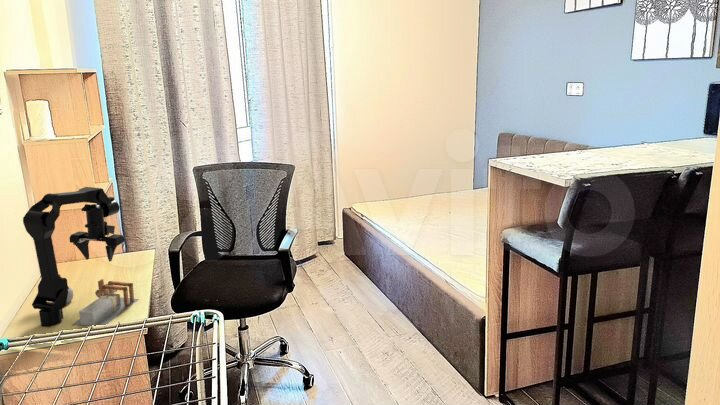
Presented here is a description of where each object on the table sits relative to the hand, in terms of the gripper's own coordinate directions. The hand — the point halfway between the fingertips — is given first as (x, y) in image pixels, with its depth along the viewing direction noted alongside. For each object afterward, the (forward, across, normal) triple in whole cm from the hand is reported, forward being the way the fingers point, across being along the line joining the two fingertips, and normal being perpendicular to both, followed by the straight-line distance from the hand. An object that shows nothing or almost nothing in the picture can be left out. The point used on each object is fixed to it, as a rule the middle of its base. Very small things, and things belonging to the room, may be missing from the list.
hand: (99, 260), depth 192 cm
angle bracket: (+14, -11, +5) cm, 19 cm away
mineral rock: (+14, -1, 0) cm, 14 cm away
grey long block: (+13, -11, +17) cm, 24 cm away
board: (+14, -11, +14) cm, 23 cm away
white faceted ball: (+14, +10, +10) cm, 20 cm away
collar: (+14, -11, +8) cm, 20 cm away
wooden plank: (+14, -5, +7) cm, 16 cm away
